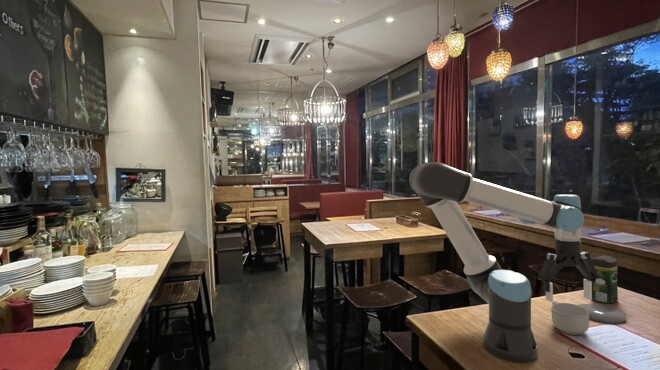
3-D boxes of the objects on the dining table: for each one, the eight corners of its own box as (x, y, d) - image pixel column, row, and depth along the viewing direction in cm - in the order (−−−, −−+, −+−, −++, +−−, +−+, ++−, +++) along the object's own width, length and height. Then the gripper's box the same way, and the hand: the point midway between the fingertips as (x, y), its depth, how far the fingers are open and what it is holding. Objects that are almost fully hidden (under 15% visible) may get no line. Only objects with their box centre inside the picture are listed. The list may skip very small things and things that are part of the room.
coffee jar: (598, 295, 149) (599, 253, 149) (620, 300, 142) (621, 256, 142) (587, 299, 145) (587, 256, 144) (609, 305, 138) (609, 260, 137)
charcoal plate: (596, 324, 122) (596, 320, 122) (567, 307, 137) (567, 304, 136) (636, 322, 122) (637, 318, 122) (603, 306, 137) (603, 303, 137)
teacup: (596, 339, 111) (596, 315, 111) (559, 337, 113) (559, 313, 113) (574, 321, 125) (574, 299, 124) (541, 319, 127) (542, 298, 127)
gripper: (538, 243, 114) (539, 305, 115) (612, 239, 114) (612, 301, 115) (525, 238, 121) (526, 297, 122) (594, 235, 122) (595, 294, 123)
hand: (568, 299), depth 119 cm, fingers open, 13 cm apart
